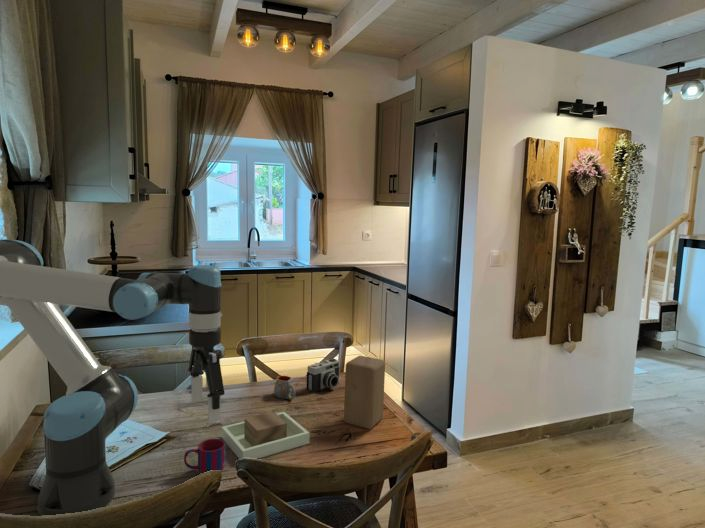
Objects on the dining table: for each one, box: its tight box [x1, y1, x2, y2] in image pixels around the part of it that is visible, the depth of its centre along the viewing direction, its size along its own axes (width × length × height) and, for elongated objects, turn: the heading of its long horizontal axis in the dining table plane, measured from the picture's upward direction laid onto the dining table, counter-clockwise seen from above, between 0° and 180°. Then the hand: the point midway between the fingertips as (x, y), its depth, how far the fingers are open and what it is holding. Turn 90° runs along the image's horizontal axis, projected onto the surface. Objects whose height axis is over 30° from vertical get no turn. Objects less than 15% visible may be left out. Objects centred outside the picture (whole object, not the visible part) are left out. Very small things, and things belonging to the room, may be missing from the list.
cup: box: [183, 438, 226, 475], centre depth 120 cm, size 7×10×7 cm
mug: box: [273, 375, 297, 401], centre depth 167 cm, size 12×7×7 cm, turn 32°
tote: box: [221, 411, 311, 460], centre depth 135 cm, size 20×16×4 cm
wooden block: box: [343, 355, 386, 430], centre depth 151 cm, size 10×10×20 cm
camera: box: [306, 358, 340, 394], centre depth 178 cm, size 14×9×10 cm, turn 130°
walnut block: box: [244, 411, 287, 447], centre depth 135 cm, size 9×9×6 cm
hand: (205, 410), depth 119 cm, fingers open, 13 cm apart
